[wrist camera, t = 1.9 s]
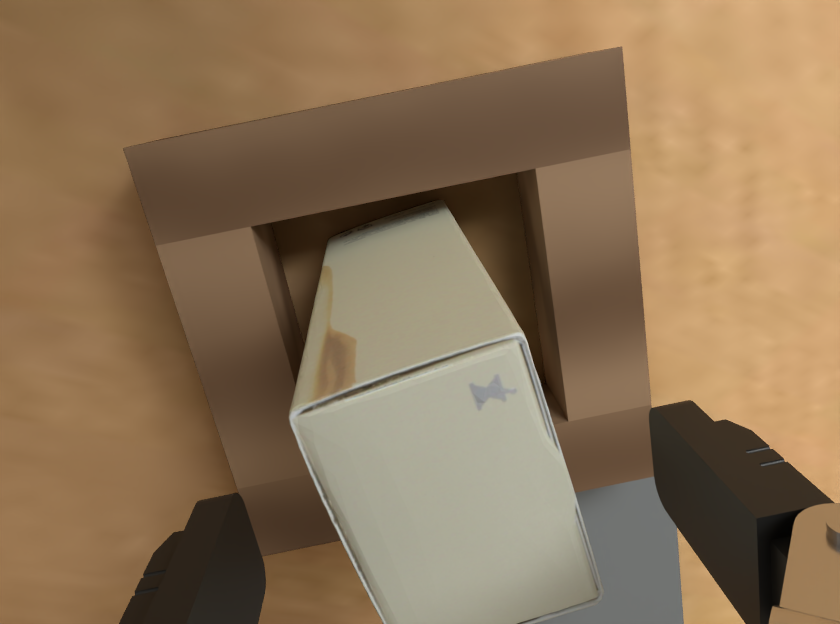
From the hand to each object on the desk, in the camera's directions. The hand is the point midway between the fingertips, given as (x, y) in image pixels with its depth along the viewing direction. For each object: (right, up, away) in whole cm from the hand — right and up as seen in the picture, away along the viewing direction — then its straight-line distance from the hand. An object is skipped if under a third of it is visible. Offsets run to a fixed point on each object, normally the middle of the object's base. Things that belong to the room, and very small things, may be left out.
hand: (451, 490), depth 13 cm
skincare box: (-1, +4, +11) cm, 11 cm away
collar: (-1, +4, +10) cm, 11 cm away
